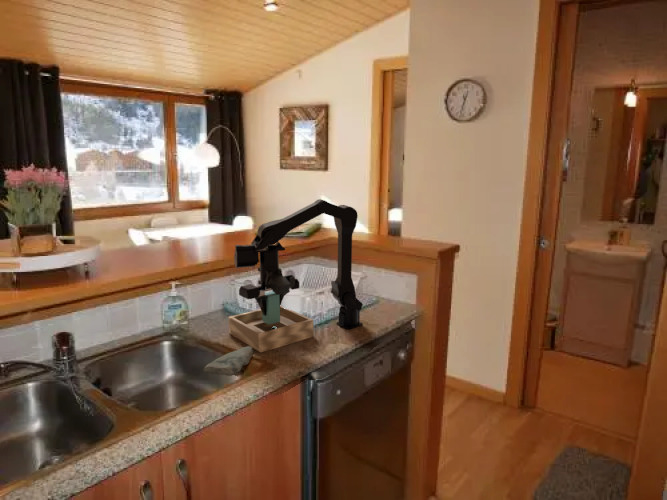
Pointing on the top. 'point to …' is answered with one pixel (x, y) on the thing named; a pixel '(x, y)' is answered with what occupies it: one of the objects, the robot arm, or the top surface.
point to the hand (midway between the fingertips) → (270, 313)
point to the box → (253, 328)
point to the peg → (272, 308)
